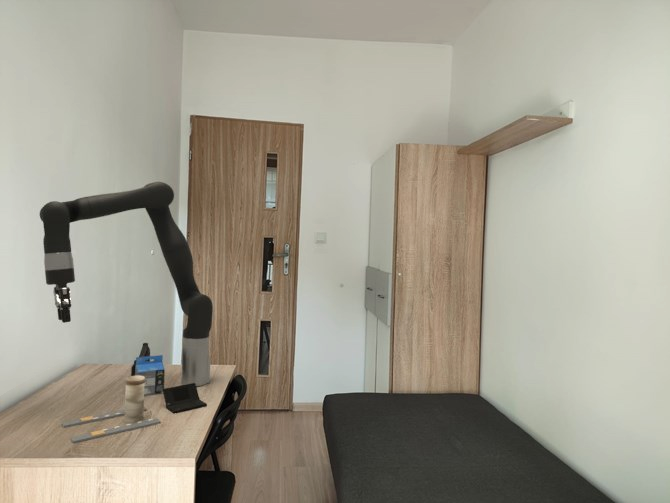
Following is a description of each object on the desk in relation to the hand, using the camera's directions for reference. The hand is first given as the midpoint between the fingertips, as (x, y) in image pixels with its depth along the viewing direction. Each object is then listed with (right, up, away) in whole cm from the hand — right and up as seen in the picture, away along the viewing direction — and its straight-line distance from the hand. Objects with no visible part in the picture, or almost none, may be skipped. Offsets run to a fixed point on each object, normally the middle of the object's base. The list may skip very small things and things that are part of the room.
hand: (64, 320), depth 136 cm
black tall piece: (+9, -27, +32) cm, 43 cm away
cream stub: (+24, -28, -6) cm, 37 cm away
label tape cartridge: (+19, -28, +16) cm, 37 cm away
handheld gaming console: (+35, -28, +6) cm, 45 cm away
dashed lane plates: (+19, -28, -10) cm, 35 cm away
